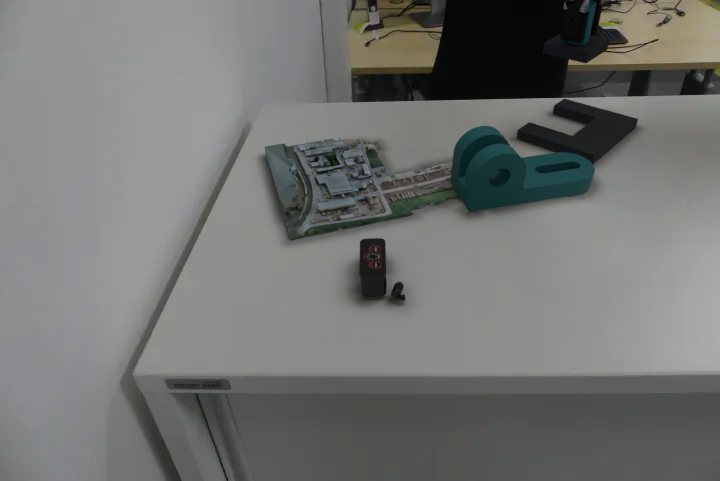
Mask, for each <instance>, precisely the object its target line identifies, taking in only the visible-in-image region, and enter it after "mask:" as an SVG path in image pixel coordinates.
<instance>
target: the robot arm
mask: <svg viewBox="0 0 720 481" xmlns="http://www.w3.org/2000/svg"><path fill="white" fill-rule="evenodd" d="M563 1H564V2H563V17H562V23H561V28H560V33H559V34H560V38H561V39H562V40H566V41H571V42H575V43H582V42H583V41H584V38H585V33H586V28H587V23H588V18H589V13H590V12H588V11H587V8H588V4H589V0H563ZM591 1H594V2H596V8H595V13H594V18H593V23H592V28H591V32H590V35H591V36H596V35H597V33H598V29H599V25H600V20H601V17H602V16H601V15H602V11H603V6H604V3H605V1H606V0H591Z"/></svg>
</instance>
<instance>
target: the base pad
mask: <svg viewBox="0 0 720 481" xmlns="http://www.w3.org/2000/svg"><path fill="white" fill-rule="evenodd" d="M552 114H553V115H556V116H559V117H563V118H566V119H569V120H572V121H576V122H579V123H582V124H585V125H584V126H583V127H582V128H580V129H579V130H578V131H576V132H575V133H574V134H573V135H572V134H568V133H565V132H563V131H559V130H555V129H553V128H550V127H546V126H543V125H540V124H536V123H533V122H530V121H529V122H527V123H526V124H524V125H522V126H521V127H520V128H518V129H517V132H516V140H519V141H522V142H525V143H528V144H531V145H534V146H537V147H539V148H543V149H546V150H549V151H551V152H553V153H556V152H567V153H573V154H577V155H580V156H582V157H584V158H586V159H588V160H589V161H590V162H591V163H592V164H593V165H595V163H596V162H598V161H599V160H600V159H601V158H602V157H603V156H605V155H606V154H607V153H608V152H609V151H611V150H612V149H613V148H614V147H615V146H616V145H618V143H620V142H621V141H622V140H623V139H624V138H626V137H627V136H628V135H629V134H630V133H632V131H633V130H635V129H636V128H637V125H638V121H639V118H637V117H633V116H630V115H627V114H622V113H620V112H615V111H612V110H608V109H603V108H600V107H597V106H593V105H589V104H586V103H582V102H579V101H576V100H572V99H568V98H562V99H561V100H559V101H558V102H557V103H554V104H553V110H552Z"/></svg>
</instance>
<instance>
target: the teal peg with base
mask: <svg viewBox="0 0 720 481" xmlns="http://www.w3.org/2000/svg"><path fill="white" fill-rule="evenodd" d="M595 8H596V2H594V1H591V0H589V4H588V8H587V11H588V12H590V13H589V18H588V23H587V28H586V33H585V38H584V41H583V42H582V43H575V42H571V41H566V40H562V39H561V38H560V33H559V34H557V35H555V36H554V37H552V38H550V39H548V40H546V41H545V42H544V43H543V48H542V54H543V55H548V56H553V57H557V58H561V59H565V60H569V61H573V62H578V63H582V64H587V63H590V62H591V61H593V60H594V59H595V58H597V57H598V56H600V55H602V54H603V53H605V52H606V51H608V48H609V44H610V38H605V37H601V36H596V35H593V36H592V35H590V32H591V28H592V23H593V18H594V13H595Z"/></svg>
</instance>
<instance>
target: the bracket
mask: <svg viewBox="0 0 720 481" xmlns="http://www.w3.org/2000/svg"><path fill="white" fill-rule="evenodd" d="M452 161H453V162H452ZM452 161H451V162H452V171H451V181H450V182H451V184H452V185H453V187H454V189H455V190H456V192H457V193H458V195H459V197H460V198H461V199H460V200H461V201H462V203H463V205H464V206H465V208H466V210H467V211H468V212H469V213H473V212H478V211H484V210H491V209H497V208H504V207H509V206H516V205H523V204H528V203H534V202H541V201H546V200H547V201H548V200H553V199H560V198H565V197H572V196H578V195H582V194H584V193H586V192H588V191H589V189H590V188H591V185H592V182H593V180H594V176H595V172H596V168H595V164H592V163H591V162H590V161H589V160H588V159H586V158H584V157H582V156H580V155H577V154H573V153H567V152H550V153H549V152H548V153H543V154H537V155H529V156H522V157H521V155H520V154H519V153H518V152H517V151H516V149H515V148H514V147H513V146H511V145H510V143H509V141H508V140H507V138H506V137H505V136H504V135H503V134H502V133H501V132H500V131H499V130H498V128H495V127H494V126H492V125H479V126H478V125H477V126H476V127H473V128H471V129H469V130H467V131H466V132H464V134H462V135H461V136H460V137H459V139H458V140H457V142H456V144H455V145H454V149H453V153H452Z"/></svg>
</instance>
